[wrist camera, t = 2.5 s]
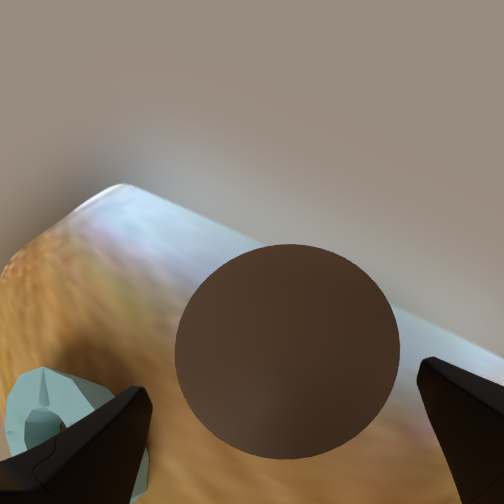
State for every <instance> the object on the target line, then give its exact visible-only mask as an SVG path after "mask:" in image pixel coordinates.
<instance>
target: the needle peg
mask: <svg viewBox="0 0 504 504" xmlns="http://www.w3.org/2000/svg"><path fill="white" fill-rule="evenodd" d="M399 360H400V341H399V332H398V328H397V324H396V320H395V317H394V314H393V312H392V309H391V307H390V304H389V303H388V301H387V299H386V297H385V296H384V294H383V292H382V291H381V290H380V288H379V287H378V286H377V284H376V283H375V282H374V281H373V280H372V279H371V278H370V277H369V276H368V275H367V274H366V273H365V272H364V271H363V270H361V269H360V268H359V267H358V266H356V265H355V264H353V263H352V262H350V261H349V260H347V259H345V258H343V257H341V256H339V255H337V254H335V253H333V252H330V251H327V250H324V249H321V248H316V247H311V246H305V245H296V244H287V245H274V246H267V247H263V248H259V249H255V250H252V251H250V252H247V253H244V254H242V255H240V256H238V257H236V258H234V259H232V260H230V261H228V262H227V263H225V264H224V265H222V266H221V267H219V268H218V269H217V270H216V271H215V272H213V273H212V274H211V275H210V276H209V277H208V278H207V279H206V280H205V281H204V282H203V283H202V284H201V285H200V286H199V288H198V289H197V290H196V292H195V293H194V295H193V296H192V297H191V299H190V301H189V303H188V305H187V306H186V308H185V310H184V313H183V315H182V318H181V320H180V324H179V327H178V331H177V336H176V344H175V365H176V371H177V377H178V380H179V384H180V387H181V390H182V392H183V395H184V397H185V399H186V401H187V403H188V405H189V406H190V408H191V409H192V411H193V413H194V414H195V416H196V417H197V418H198V419H199V420H200V421H201V423H202V424H203V425H204V426H205V427H206V428H207V429H208V430H209V431H210V432H212V433H213V434H214V435H215V436H216V437H218V438H219V439H221V440H222V441H224V442H225V443H227V444H229V445H230V446H232V447H234V448H236V449H239V450H241V451H243V452H246V453H249V454H252V455H256V456H259V457H264V458H271V459H299V458H306V457H312V456H315V455H319V454H322V453H325V452H328V451H330V450H332V449H335V448H337V447H339V446H341V445H343V444H344V443H346V442H347V441H349V440H351V439H352V438H354V437H355V436H356V435H358V434H359V433H360V432H361V431H362V430H363V429H365V428H366V427H367V426H368V425H369V424H370V423H371V421H372V420H373V419H374V418H375V417H376V416H377V415H378V413H379V412H380V410H381V409H382V407H383V406H384V404H385V403H386V401H387V399H388V397H389V395H390V393H391V390H392V388H393V385H394V382H395V379H396V376H397V372H398V366H399Z"/></svg>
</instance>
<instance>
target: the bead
mask: <svg viewBox="0 0 504 504" xmlns="http://www.w3.org/2000/svg"><path fill="white" fill-rule="evenodd" d="M114 397H115V396H114V395H113V394H112V392H111V391H110V390H109V389H108V388H107V387H104V386H101V385H99V384H96V383H93V382H91V381H88V380H85V379H83V378H80V377H77V376H74V375H70V374H67V373H63V372H60V371H56V370H53V369H50V368H47V367H44V366H43V367H40V368H37V369H35V370H32V371H29V372H26V373H23V374H21V375H20V376H19V378H18V380H17V381H16V383H15V385H14V387H13V388H12V390H11V392H10V394H9V396H8V398H7V405H6V420H5V433H6V437H7V441H8V445H9V448H10V452H11V455H12V457H13V456H15V455H18V454H20V453H22V452H24V451H27V450H29V449H31V448H33V447H35V446H37V445H39V444H41V443H43V442H44V441H46V440H48V439H50V438H51V437H53V436H54V435H57V434H58V433H60V425H61V423H62V422H64V424H65V425H66V426H67V428H68V427H69V426H71V425H72V424H74V423H76V422H77V421H79V420H80V419H82V418H84V417H85V416H87V415H88V414H90V413H91V412H93V411H95V410H96V409H98V408H99V407H101V406H102V405H104V404H105V403H107V402H108V401H110V400H111V399H113V398H114ZM148 465H149V454H148V451H147V449H146V447H145V451H144V455H143V458H142V461H141V465H140V468H139V472H138V475H137V479H136V482H135V486H134V489H133V493H132V497H131V500H130V504H133V503H134V502H135V501H136V500H137V499H138V498H139V497H141V496H142V495H143V494H144V493H145V492H146V490H147V477H148Z"/></svg>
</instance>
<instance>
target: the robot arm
mask: <svg viewBox="0 0 504 504" xmlns="http://www.w3.org/2000/svg"><path fill="white" fill-rule="evenodd" d="M417 386H418V389H419V391H420V394H421V397H422V400H423V403H424V406H425V409H426V412H427V415H428V418H429V420H430V423H431V425H432V427H433V430H434V432H435V434H436V436H437V439H438V441H439V443H440V446H441V448H442V451H443V453H444V456H445V458H446V461H447V463H448V466H449V468H450V471H451V473H452V476H453V479H454V482H455V484H456V487H457V490H458V493H459V496H460V499H461V502H462V504H504V386H502V385H499V384H497V383H494V382H492V381H489V380H487V379H485V378H482V377H480V376H478V375H475V374H473V373H471V372H468V371H466V370H464V369H461V368H459V367H457V366H454V365H452V364H450V363H447V362H445V361H443V360H440V359H438V358H436V357H429V358H425V359H423V360H422V361H421V364H420V368H419V371H418V375H417ZM152 410H153V407H152V403H151V400H150V398H149V396H148V394H147V392H146V389H145V388H144V387H142V386H131V387H129V388H128V389H126V390H125V391H123V392H122V393H120V394H119V395H117V396H116V397H114V398H113V399H111V400H110V401H108V402H107V403H105V404H104V405H102V406H101V407H99V408H98V409H96V410H95V411H93V412H91V413H90V414H88V415H87V416H85V417H84V418H82V419H80V420H79V421H77V422H76V423H74V424H72V425H71V426H69V427H68V428H66V429H64V430H63V431H61V432H60V433H58V434H57V435H54V436H53V437H51V438H50V439H48V440H46V441H44V442H43V443H41V444H39V445H37V446H35V447H33V448H31V449H29V450H27V451H24V452H22V453H20V454H18V455H15V456H13V457H11V458H8V459H6V460H3V461H0V504H130V500H131V497H132V493H133V489H134V486H135V482H136V479H137V475H138V472H139V468H140V465H141V461H142V458H143V455H144V451H145V447H146V443H147V438H148V432H149V426H150V421H151V415H152Z"/></svg>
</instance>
